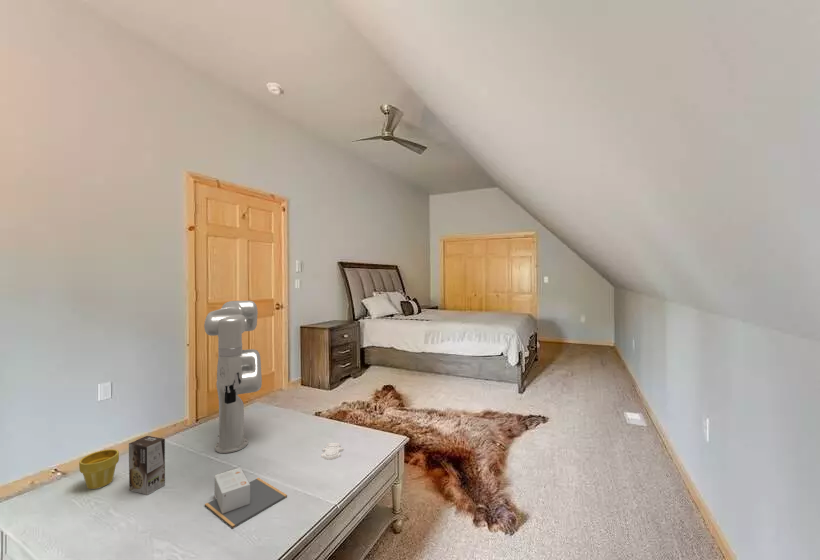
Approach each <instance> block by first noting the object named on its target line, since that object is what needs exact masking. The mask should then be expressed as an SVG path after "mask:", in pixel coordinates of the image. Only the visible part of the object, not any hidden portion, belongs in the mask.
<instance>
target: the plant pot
mask: <svg viewBox="0 0 820 560" xmlns="http://www.w3.org/2000/svg"><path fill="white" fill-rule="evenodd" d="M119 460H120V452H119V450H118V449H114V448H113V449H112V448H111V449H103V450H98V451H94V452H92V453H90V454H88V455H87V454H86V455H85V456H84V457H82V458H81V459H80V460H79V462H78V463H79V464H78V465H79V472H80V473H81V474H82V476H83V478H84V481H85V484H86V488H87V489H88V490H96V489H100V488H103V487H105V486H108V485H110V484H111V483H112V482H113V479H114V475H115V471H116V468H117V467H116V466H117V464H118V463H119Z"/></svg>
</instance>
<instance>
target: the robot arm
mask: <svg viewBox="0 0 820 560" xmlns="http://www.w3.org/2000/svg"><path fill="white" fill-rule="evenodd" d="M258 315H259V313H258V306H257V304H256V302H254V301H253V300H230V301H226V302H225V303H224V304H223V305H222V306H221V308H219V309H215V310H211V311H209V312H208V313H207V315H206V318H205V320H204V326H203V327H204V332H205V333H206V335H207V336H211V337H212V336H213V337H214V336H217V338H218V340H217V341H218V342H217V348H218V349H217V350H218V352H217V354H218V359H217V367H216V368H217V369H216V370H217V371H216V390H217V396H218V397H217V398H218V434H217V437H218V442H217V443H216V444H215V446H214V451H215V452H216V453H219V454H229V453H230V454H231V453H235V452H238V451H240V450H242V449H244V448H245V447H247V445H248V443H249V440H248V438H246V437H245V420H244V419H245V406H244V405H245V403H244V402H243V400H242V398H241V397H240V396H239V395H244V394H250V393H255V392H259V391H260V390H261V388H262V385H263V384H262V382H263V378H262V361H261V359H262V358H261V354H260V352H259V351H258V350H256V349H255V348H254V349H253V348H251V349H243V335H242V334H243V333H245V332H252V331H255V329H257V326H258Z"/></svg>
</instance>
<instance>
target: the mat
mask: <svg viewBox="0 0 820 560" xmlns="http://www.w3.org/2000/svg"><path fill="white" fill-rule="evenodd" d="M248 482H249V484H250V504H248V505H245V506H243V507H240V508H237V509H234V510H232V511H229V512H226V513H224V514H222V512H221V510H220V507H219V505H218V502H217V500H216V498H215V499H213V500H211V501H209V502H205V504H204V507H205V508H206V509H207V510H209V511H210V512H211V513H212V514H214V515H215V516H216V517H217V518H219V520H221V521H222V522H223V523H225V524H226V525H227V526H228V527H230V528H231V529H233V530H234V528H237V527H238V526H240V525H241V524H243V523H245V522H246V521H248V520H250V519H252V518H253V517H255V516H257V515H258V514H261V513H262V512H264V511H266V510H268V509H269V508H271V507H273V506H275V505H276V504H278V503H280V502H281V501H283V500H284V499H286V498H287V497H288V495H287V493H285V492H283V491H282V490H280V489H278V488H277V487H276V486H274V485H271V484H270V483H269V482H267V481H265V480H263V479H261V478H260V477H257V478H255V479H254V480H250V481H248Z"/></svg>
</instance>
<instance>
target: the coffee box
mask: <svg viewBox="0 0 820 560" xmlns="http://www.w3.org/2000/svg"><path fill="white" fill-rule="evenodd" d="M165 440H166V439H165V438H162V437H156V436H153V435H152V436H151V435H145V436H143V437H140V438H138V439H136V440H134V441H131V442H129V443H128V475H129V477H128V482H129V483H128V484H129V486H128V489H129V490H128V491H132V492H136V493H139V494H142V495H143V494H144V495H147V496H149V494H152V493H154V492H155V491H157V490H159V489H160V488H163V487H165V485H166V458H165V457H166V456H165V455H166V446H165V444H166V441H165Z"/></svg>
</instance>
